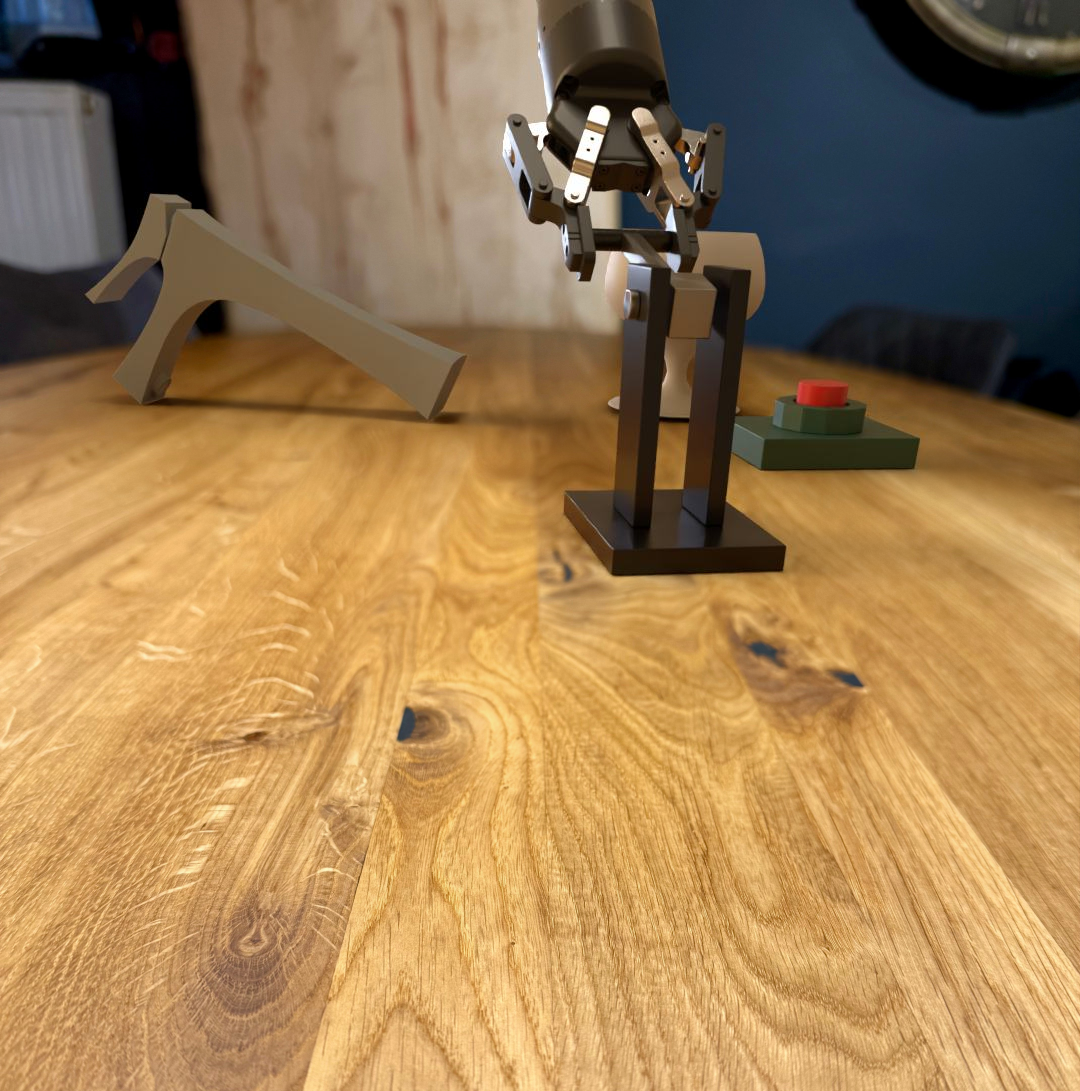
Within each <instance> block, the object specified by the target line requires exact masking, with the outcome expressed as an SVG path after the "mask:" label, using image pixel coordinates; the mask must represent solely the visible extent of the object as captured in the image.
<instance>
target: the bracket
mask: <svg viewBox="0 0 1080 1091" xmlns="http://www.w3.org/2000/svg"><path fill="white" fill-rule="evenodd" d="M703 275H704V276H705V278H706V279H707V280H708V281H709V282H710V283H711V284H712V285H713V286H714V287H715V288H716V289H717V291H718V292H717V297H716V303H715V309H714V315H713V321H712V327H711V333H710V338H709V339H697V343H696V353H695V355H694V366H693V378H692V386H691V389H692V397H691V408H690V419H689V421H688V429H687V430H688V431H687V439H686V441H687V442H686V452H685V454H686V455H685V461H684V462H685V464H684V475H683V485H682V488H668V489H667V488H665V489H664V488H663V489H659V488H658V489H657V488H656V489H655V480H656V479H655V478H656V468H657V454H658V441H659V429H660V428H659V427H660V418H661V417H660V406H661V394H662V383H663V382H664V380H663V379H664V366H665V359H664V356H665V343H666V331H667V318H668V306H669V293H670V281H671V268H669V267H663V266H658V265H652V264H646V263H629V264H628V276H627V291H626V293H625V296H624V316H625V321H624V325H623V341H622V342H623V343H622V354H621V355H622V357H621V370H620V371H621V372H620V373H621V374H620V387H619V388H620V389H619V396H620V403H619V410H618V420H617V421H618V422H617V438H616V450H615V452H616V453H615V466H614V467H615V468H614V484H613V487H614V488H613V489H590V490H586V489H585V490H579V489H577V490H564V492H563V513H564V514H565V516H566V517H567V519H568V520H569V521H570V522H571V523H572V525H573V527H575V529H576V530H577V531H578V533H579V534H580V535H581V537H582V538H583V539H584V541H585V542H586V543H587V545H589V547H590V548H591V550H592V551H593V552H594V554H595V555H596V556H597V557H598V559H599V561H601V562H602V564H603V565H604V567H605V568H606V569H607V571H608V572H609V573H610V574H611V575H612V576H621V575H625V576H626V575H658V574H661V575H662V574H692V573H693V574H694V573H695V574H696V573H697V574H698V573H728V572H729V573H730V572H731V573H732V572H734V573H735V572H765V571H767V572H768V571H769V572H771V571H783V570H784V567H785V560H786V554H787V545H786V544H785V543H784V542H782V541H781V540H779V539H778V538H777V537H775V536H774V535H773V534H771V533H770V532H769V531H767V530H766V529H765V528H764V527H762V526H760V525H759V524H758V523H756V522H755V521H753V520H752V519H751V518H749V517H748V516H747V515H745V514H744V513H743V512H742V511H740V510H739V509H737V508H736V507H735V506H733V505H732V504H730V503H729V502H728V501H727V495H728V485H729V477H730V470H731V462H732V461H731V460H732V443H733V434H734V425H735V416H737V413H736V407H737V406H738V397H739V389H740V388H739V387H740V378H741V370H742V360H743V352H744V344H745V334H746V325H747V320H746V317H747V308H748V299H749V290H750V281H751V270H748V269H742V268H735V267H728V266H721V265H704V267H703Z"/></svg>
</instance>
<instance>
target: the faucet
mask: <svg viewBox="0 0 1080 1091" xmlns="http://www.w3.org/2000/svg"><path fill="white" fill-rule="evenodd" d="M160 261H161V266H162V269H163V281H162V287H161V289H160V292H159V295H158V298H157V301H156V303H155V306H154V308H153V310H152V313H151V315H150V317H149V319H148V321H147V322H146V324H145V326H144V328H143V330H142V331H141V334H140V335H139V336H138V338H137V340H136V342H135V343H134V345H133V346H132V348H131V350H130V351H128V354H127V355H126V356H125V358H124V359H123V361H122V362H121V363H120V364H119V366H118V368H117V369H116V370H115V371H114V373H113V374H112V375H111V377H112V378H113V379H114V380H115V381H116V383H118V384H119V385H120V387H122V388H123V389H124V390H125V391H126V392H127V393H128V394H129V395H130V396H131V397H132V398H133V399H134V400H136V401H137V403H138V404H139V405H145V404H147V403H151V402H153V401H156V400H160V399H162V398H165V396H166V392H167V390H168V388H169V387H170V385H171V383H172V378H171V377H172V374H173V372H174V369H175V367H176V363H177V360H178V358H179V356H180V353H181V351H182V348H183V346H184V344H185V342H186V339H187V337H188V335H189V333H190V331H191V330H192V328H193V326H194V324H195V322H196V321H197V320H198V319H199V318H200V315H201V314H203V312H204V311H205V310H206V309H207V308H208V307H210V305H212V304H213V303H215V302H218V301H229V302H235V303H238V304H242V305H244V306H247V307H250V308H252V309H255V310H258V311H260V312H263V313H265V314H267V315H270V316H272V317H274V318H276V319H278V320H280V321H282V322H283V323H285V324H287V325H289V326H291V327H292V328H294V329H296V330H298V331H299V332H302V333H303V334H305V335H306V336H308V337H309V338H311V339H313V340H314V341H316V342H317V343H319V344H321V345H322V346H324V347H326V348H327V349H329V350H330V351H332V352H334V353H335V354H337V355H338V356H340V357H342V358H343V359H344V360H346V361H348V362H349V363H351V364H352V365H353V366H355V367H357V368H358V369H360V370H361V371H363V372H364V373H365V374H367V375H368V376H370V377H372V378H373V379H374V380H376V381H377V382H379V383H380V384H382V385H383V386H385V387H386V388H387V389H388V390H390V391H391V392H392V393H394V394H395V395H397V396H398V397H400V398H401V399H402V400H403V401H404V402H406V403H407V404H408V405H410V406H411V407H412V408H413V409H414V410H416V412H418V413H419V414H420V415H421V416H422V417H424V418H425V419H426V420H431V419H433V418H435V417H436V416H437V415H439V413H440V412H441V411H442V410H444V409H445V406H446V404H447V402H448V399H449V398H450V396H451V393H452V391H453V389H454V386H455V385H456V383H457V380H458V378H459V375H460V373H461V371H462V370H463V369H462V368H463V367H464V364H465V363H466V360H467V358H468V355H467V354H465V353H462V352H459V351H456V350H453V349H450V348H448V347H445V346H443V345H440V344H437V343H435V342H432V341H430V340H428V339H425V338H423V337H421V336H419V335H416V334H414V333H412V332H410V331H408V330H406V329H403V328H401V327H400V326H397V325H395V324H393V323H390V322H388V321H387V320H385V319H383V318H381V317H378V316H376V315H374V314H372V313H370V312H369V311H366V310H364V309H362V308H360V307H358V306H356V305H354V304H353V303H350V302H349V301H347V300H345V299H343V298H342V297H340V296H338V295H336V294H333V293H331V292H329V291H328V290H326V289H324V288H322V287H320V286H319V285H317V284H315V283H313V282H311V281H309V280H308V279H306V278H305V277H303V276H302V275H299V274H298V273H296V272H295V271H293V270H292V269H290V268H289V267H287V266H285V265H283V264H282V263H281V262H279V261H277V260H275V259H274V258H272V257H271V256H269V255H268V254H266V253H265V252H262V250H259V249H258V248H256V246H254V245H252V244H251V243H249V242H248V241H246V240H244V239H243V238H241V237H240V236H239V235H237V234H235V233H234V232H233V231H231V230H230V229H229V228H227V227H226V226H224V225H223V224H221V223H220V222H219V221H218V220H217V219H215V218H213V217H212V216H211V215H210V214H209V213H207V212H206V211H205V210H204V209H199V208H198V209H196V208H195V209H194V208H192V203H191V202H190V201H189V200H186V199H185V198H183V197H181V196H179V195H178V194H161V193H150V194H149V197H148V201H147V204H146V207H145V210H144V214H143V216H142V219H141V221H140V225H139V227H138V229H137V233H136V234H135V237H134V239H133V240H132V243H131V244H130V246H129V248H128V249H127V251H126V252H125V253H124V255H123V256H122V258H121V260H120V261H119V262H118V263H117V264H116V265H115V266H114V267H113V268H112V269H111V271H109V272H108V273H107V274H106V276H104V278H102V279H101V280H100V281H99V282H97V284H96V285H94V286H93V287H92V288H90V289H89V291H87V292H86V293H85V294H84V295H85V296H86V298H88V299H89V300H90V302H91V303H92V304H94V305H95V304H102V303H109V302H116V301H122V300H123V298H124V297H125V296H126V294H127V293H128V292H129V291H130V289H131V288H132V287H133V286H134V284H136V282H137V281H138V280H139V279H140V278H141V277H142V276H143V275H144V274H145V273H146V272H147V271H148V270H149V269H150V268H152V267H153V266H154V265H155V264H156V263H158V262H160Z"/></svg>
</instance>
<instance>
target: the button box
mask: <svg viewBox="0 0 1080 1091" xmlns="http://www.w3.org/2000/svg"><path fill="white" fill-rule="evenodd" d="M796 400H797V394H792V395H791V394H790V395H782V396H778V397H777V399H775V402H774V410H773V415H762V416H761V415H758V416H757V415H736V416H735V425H734V434H733V443H732V452H731V454H733V455H736V456H738V457H739V458H740V459H742V460H744V461H746V462H747V463H749V464H750V465H752V466H754V467H755V468H756V469H759V470H761V471H782V470H783V471H788V470H793V471H794V470H796V471H797V470H879V469H880V470H884V469H885V470H886V469H887V470H888V469H889V470H890V469H899V470H900V469H915V468H916V463H917V459H918V453H919V448H920V443H921V438H920V437H918V436H915V435H913V434H911V433H908V432H905V431H903V430H900V429H898V428H895V427H892V426H890V425H887V424H885V423H882V422H880V421H877V420H874V419H872V418H870V417H867V416H866V412H867V406H868V404H867V403H864V402H861V401H858V400H855V399H850V398H847V400H846V406H843V407H822V406H810V405H805V404H799V403H796Z"/></svg>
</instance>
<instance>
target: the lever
mask: <svg viewBox="0 0 1080 1091" xmlns="http://www.w3.org/2000/svg"><path fill="white" fill-rule="evenodd" d="M592 229H593V236H594V243H595V250H596V252H611V251H615V252H622V253H623V254H624V255H625V257H626V258H627V259H628V260H629V261H630V263H646V264H652V265H658V266H663V267H669V268H671V267H670V266H669V265H668V264H667V263H666V262H665V261H664V260H663V259H662V257H661V256H660V255H659V254H658V253H669V252H670V250H671V247H672V233H671V231H662V230H663V229H655V230H631V229H632V228H597V227H595V228H594V227H592ZM717 292H718V291H717V289H716V288H715V287H714V286H713V285H712V284H711V283H710V282H709V281H708V280H707V279H706V278H705V276H704V275H703V274H701V273H676V272H674V271H673V270H672V268H671V281H670V293H669V306H668V318H667V331H666V336H667V338H679V339H709V338H710V333H711V327H712V321H713V315H714V309H715V303H716V297H717Z"/></svg>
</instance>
